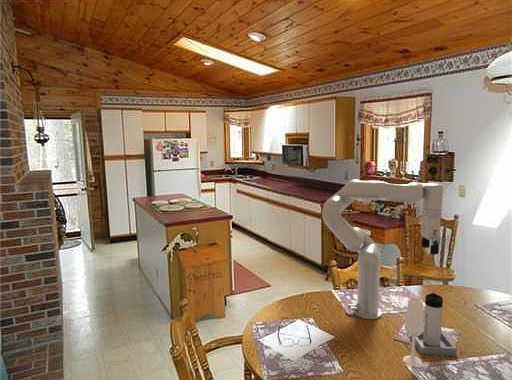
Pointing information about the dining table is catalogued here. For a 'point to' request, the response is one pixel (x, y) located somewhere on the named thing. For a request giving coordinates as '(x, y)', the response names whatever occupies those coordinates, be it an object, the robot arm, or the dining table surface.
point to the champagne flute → (414, 327)
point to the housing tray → (444, 349)
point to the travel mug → (433, 320)
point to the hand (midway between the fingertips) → (429, 250)
